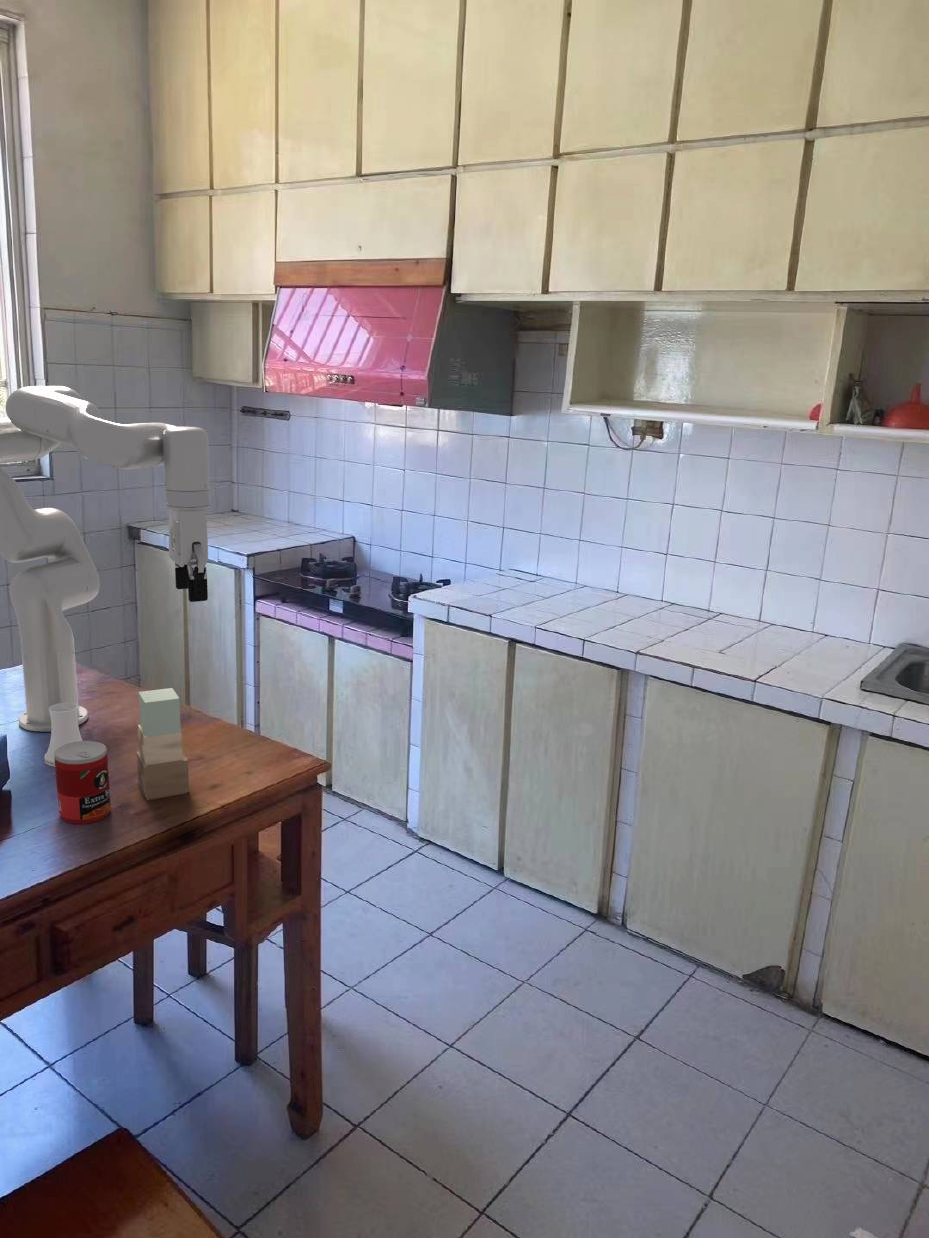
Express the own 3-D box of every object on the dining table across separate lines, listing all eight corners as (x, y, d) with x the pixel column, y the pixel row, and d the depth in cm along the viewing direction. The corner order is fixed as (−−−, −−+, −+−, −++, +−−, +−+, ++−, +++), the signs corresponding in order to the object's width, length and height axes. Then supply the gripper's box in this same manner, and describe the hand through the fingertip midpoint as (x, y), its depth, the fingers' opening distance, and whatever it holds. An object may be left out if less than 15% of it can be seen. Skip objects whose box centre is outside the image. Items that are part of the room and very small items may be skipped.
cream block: (138, 783, 159) (136, 751, 157) (179, 776, 162) (178, 745, 161) (146, 800, 153) (144, 767, 151) (189, 792, 156) (187, 760, 155)
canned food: (87, 829, 143) (82, 763, 140) (47, 818, 146) (42, 754, 143) (122, 808, 150) (118, 746, 147) (83, 798, 153) (78, 737, 150)
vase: (49, 770, 162) (44, 717, 159) (41, 755, 168) (36, 703, 165) (94, 762, 166) (90, 710, 164) (84, 747, 172) (81, 697, 170)
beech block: (139, 752, 157) (137, 724, 156) (175, 746, 160) (174, 719, 159) (145, 765, 152) (144, 737, 151) (182, 759, 155) (181, 732, 153)
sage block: (140, 725, 156) (138, 692, 154) (173, 720, 158) (172, 687, 157) (146, 737, 151) (144, 702, 149) (180, 732, 154) (179, 698, 152)
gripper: (155, 493, 165) (159, 585, 170) (177, 507, 151) (181, 608, 156) (197, 491, 169) (200, 582, 174) (222, 505, 155) (225, 604, 159)
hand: (191, 594), depth 165 cm, fingers open, 9 cm apart
